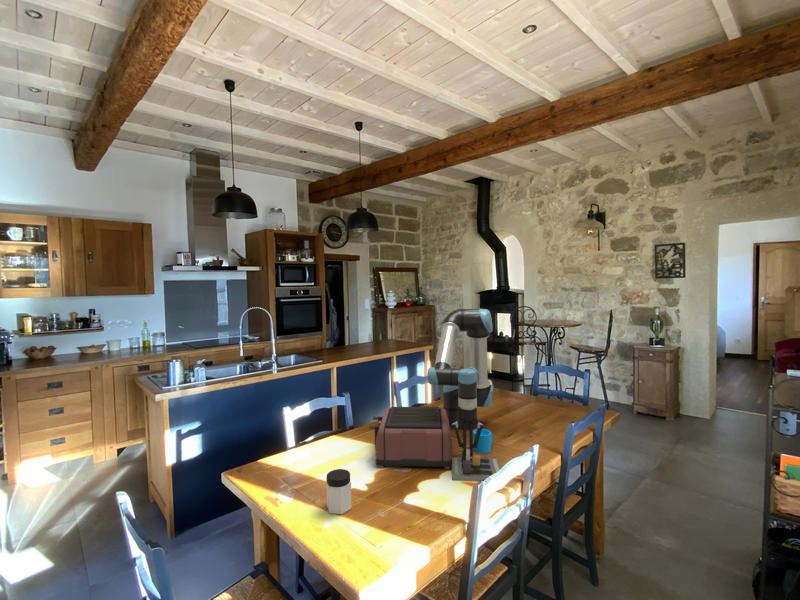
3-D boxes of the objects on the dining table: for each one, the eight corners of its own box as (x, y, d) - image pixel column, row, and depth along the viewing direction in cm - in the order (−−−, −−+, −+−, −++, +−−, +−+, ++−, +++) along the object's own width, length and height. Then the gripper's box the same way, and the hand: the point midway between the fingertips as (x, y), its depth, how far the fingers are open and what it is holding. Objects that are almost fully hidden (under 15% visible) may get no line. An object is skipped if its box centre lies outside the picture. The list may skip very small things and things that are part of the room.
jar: (341, 498, 148) (340, 466, 147) (356, 506, 143) (355, 472, 142) (321, 509, 141) (320, 475, 140) (337, 517, 136) (336, 483, 135)
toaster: (376, 439, 202) (375, 404, 201) (448, 440, 199) (448, 404, 198) (366, 468, 171) (366, 427, 170) (452, 470, 168) (452, 428, 167)
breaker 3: (472, 464, 168) (472, 454, 168) (479, 464, 168) (479, 455, 168) (472, 467, 165) (472, 457, 165) (480, 467, 165) (480, 458, 165)
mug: (484, 454, 182) (484, 437, 182) (469, 449, 188) (469, 432, 188) (499, 447, 190) (499, 430, 190) (485, 442, 196) (485, 425, 196)
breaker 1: (461, 458, 174) (461, 449, 173) (468, 458, 173) (468, 449, 173) (462, 461, 171) (462, 452, 171) (469, 461, 170) (469, 452, 170)
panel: (451, 461, 176) (451, 456, 176) (498, 463, 174) (498, 458, 174) (452, 480, 160) (452, 474, 160) (504, 481, 158) (504, 476, 158)
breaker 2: (463, 469, 164) (463, 460, 163) (470, 469, 163) (470, 460, 163) (463, 473, 161) (463, 463, 161) (471, 473, 161) (471, 463, 160)
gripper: (451, 410, 163) (452, 467, 164) (484, 410, 161) (484, 468, 162) (451, 404, 170) (451, 459, 171) (482, 404, 169) (483, 460, 170)
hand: (467, 463), depth 167 cm, fingers closed
